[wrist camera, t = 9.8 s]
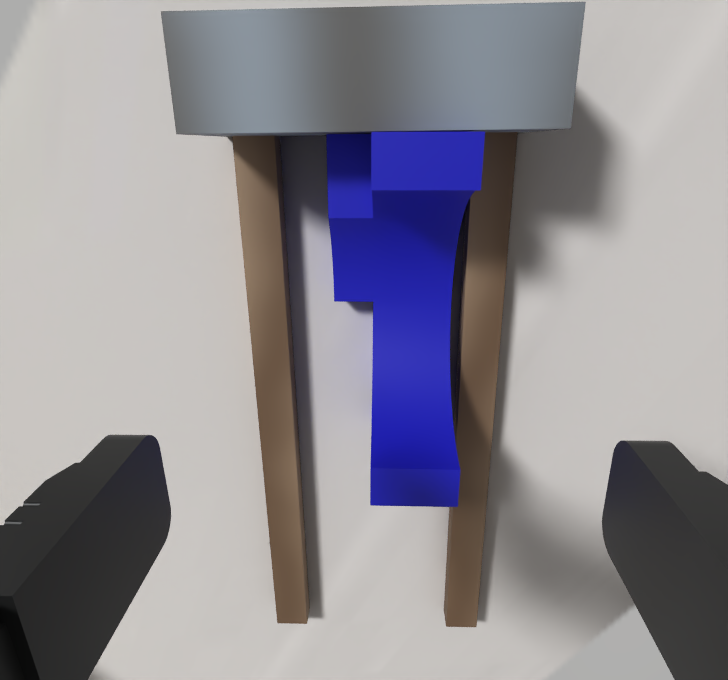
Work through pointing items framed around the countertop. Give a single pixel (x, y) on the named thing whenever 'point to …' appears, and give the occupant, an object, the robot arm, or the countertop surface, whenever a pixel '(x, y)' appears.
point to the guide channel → (365, 115)
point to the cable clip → (404, 293)
